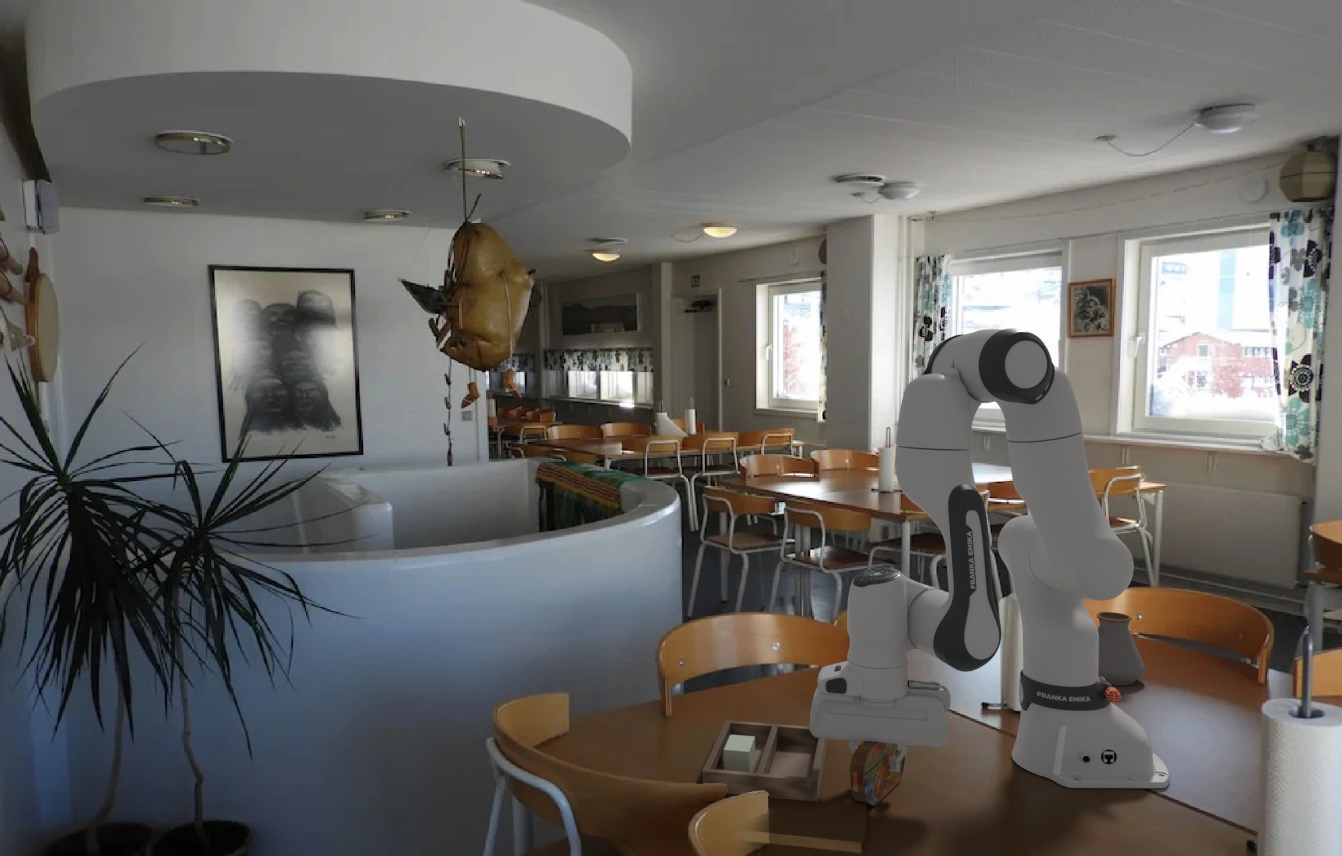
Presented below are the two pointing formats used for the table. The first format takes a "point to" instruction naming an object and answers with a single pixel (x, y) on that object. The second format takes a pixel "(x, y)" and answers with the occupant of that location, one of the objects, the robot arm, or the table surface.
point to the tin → (873, 771)
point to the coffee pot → (1117, 650)
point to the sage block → (739, 753)
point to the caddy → (772, 761)
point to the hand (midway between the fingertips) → (877, 768)
